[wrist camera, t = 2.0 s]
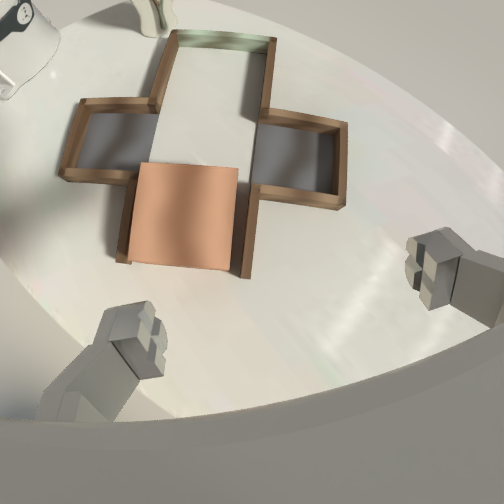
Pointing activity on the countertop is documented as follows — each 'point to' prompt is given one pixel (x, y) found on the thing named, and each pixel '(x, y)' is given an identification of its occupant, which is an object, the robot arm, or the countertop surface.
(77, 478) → the robot arm
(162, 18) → the beer glass
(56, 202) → the countertop surface
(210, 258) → the terracotta block
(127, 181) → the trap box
